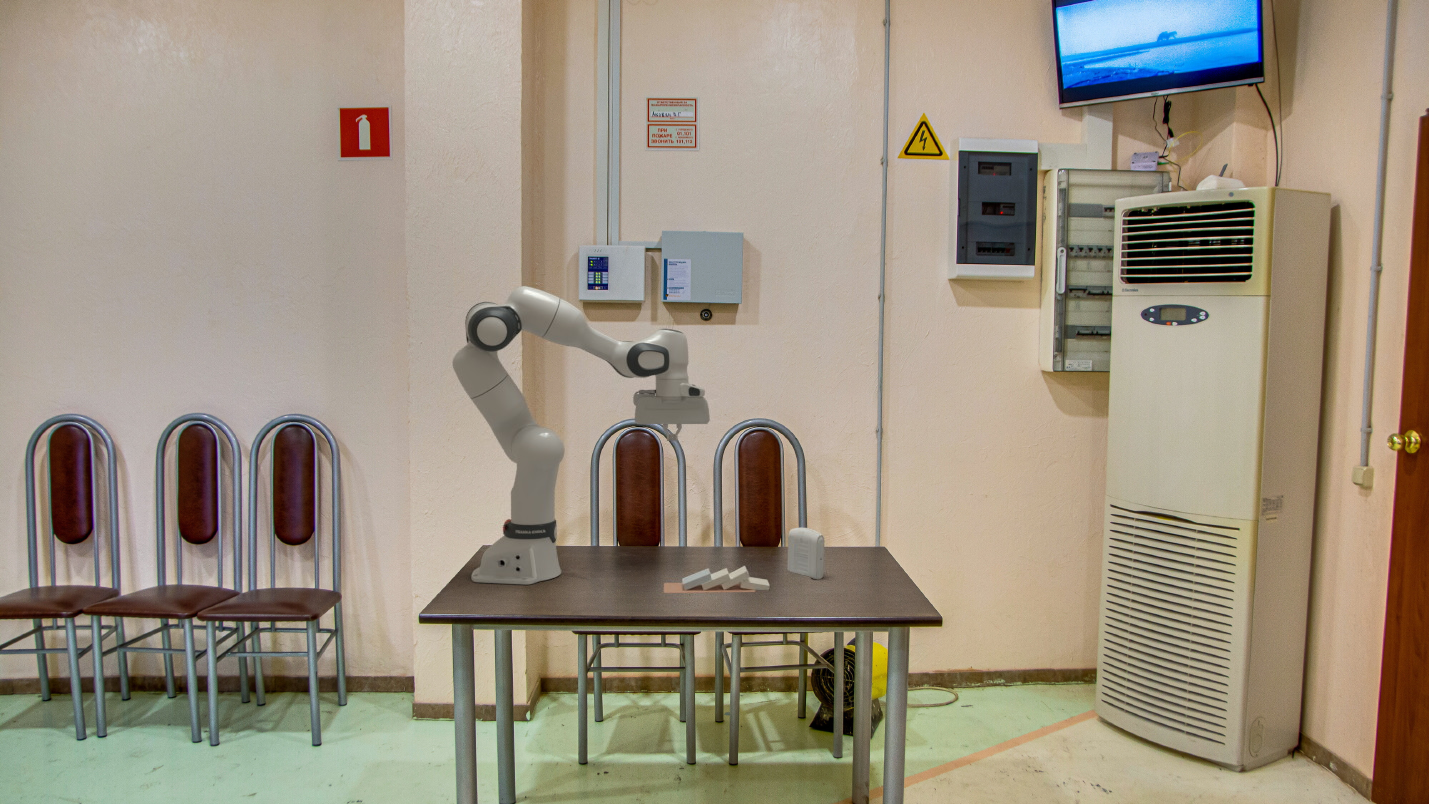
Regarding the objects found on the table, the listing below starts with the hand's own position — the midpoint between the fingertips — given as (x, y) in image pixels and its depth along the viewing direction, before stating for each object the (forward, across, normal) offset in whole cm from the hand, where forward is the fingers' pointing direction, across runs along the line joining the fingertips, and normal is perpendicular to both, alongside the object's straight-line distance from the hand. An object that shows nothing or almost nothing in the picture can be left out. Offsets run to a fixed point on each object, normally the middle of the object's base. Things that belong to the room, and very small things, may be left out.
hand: (672, 440), depth 212 cm
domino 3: (+33, +12, -22) cm, 42 cm away
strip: (+34, +9, -22) cm, 42 cm away
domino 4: (+32, +16, -22) cm, 43 cm away
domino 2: (+33, +7, -22) cm, 40 cm away
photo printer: (+35, +35, -10) cm, 50 cm away
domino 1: (+33, +3, -22) cm, 40 cm away
